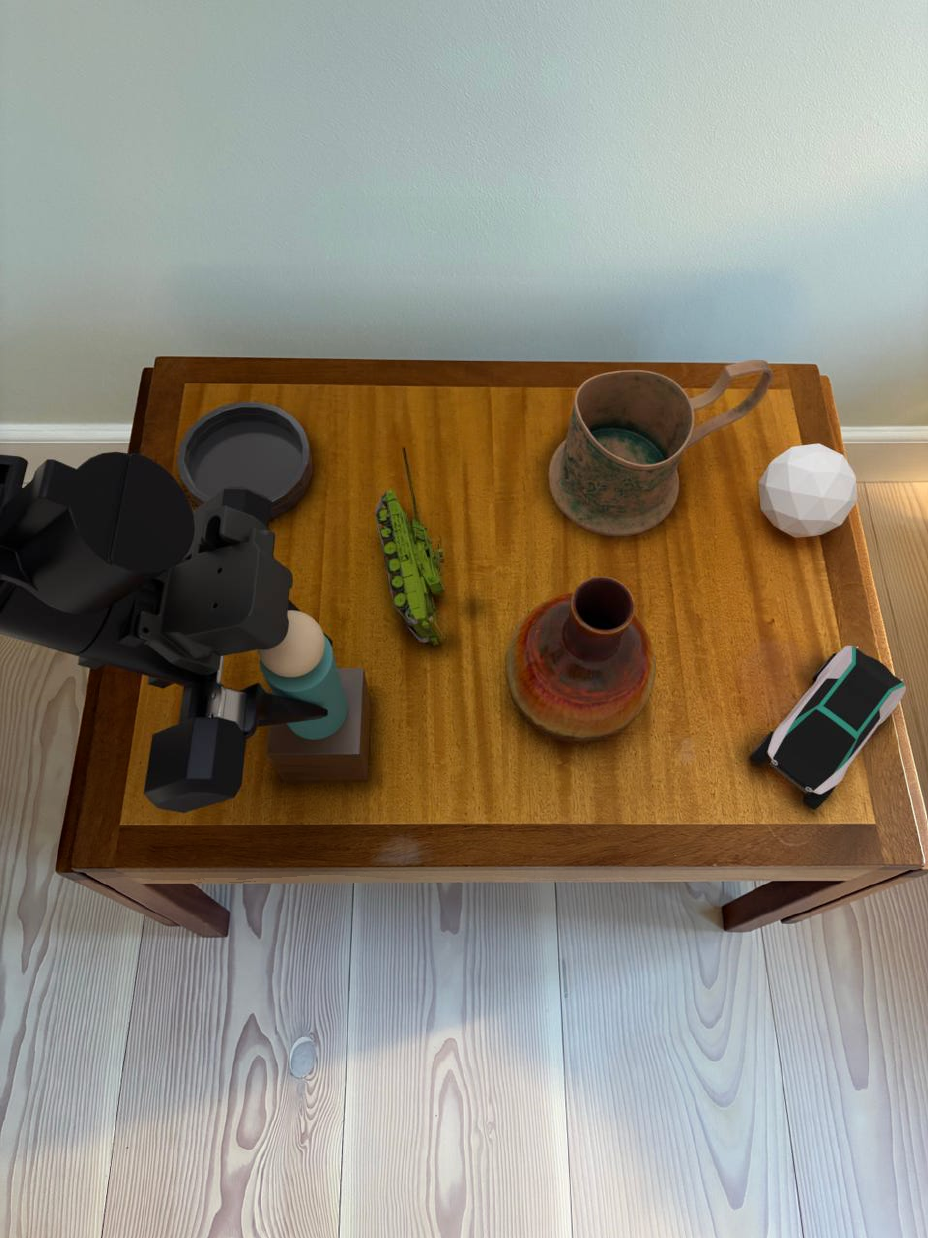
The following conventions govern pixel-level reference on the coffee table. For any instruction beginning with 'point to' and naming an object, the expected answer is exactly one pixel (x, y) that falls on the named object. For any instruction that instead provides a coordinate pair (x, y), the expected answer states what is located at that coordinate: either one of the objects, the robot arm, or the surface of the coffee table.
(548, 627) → the vase
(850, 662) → the toy car
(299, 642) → the wooden doll
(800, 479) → the geometric ball
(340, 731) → the walnut block
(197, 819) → the coffee table surface
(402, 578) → the toy tank
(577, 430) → the mug
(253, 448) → the round grey tray
